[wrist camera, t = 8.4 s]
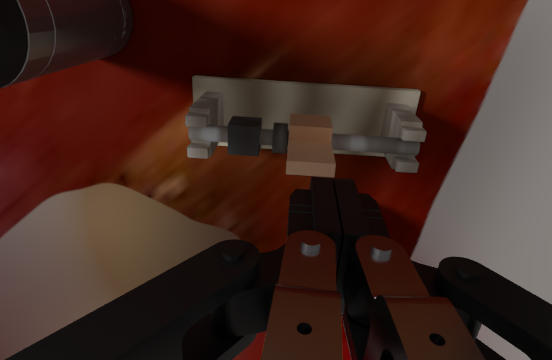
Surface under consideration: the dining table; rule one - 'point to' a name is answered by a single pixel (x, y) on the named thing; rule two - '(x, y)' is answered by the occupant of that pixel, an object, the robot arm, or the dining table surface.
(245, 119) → the grey rail mechanism
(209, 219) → the dining table surface
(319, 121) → the tan stepped block
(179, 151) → the dining table surface
